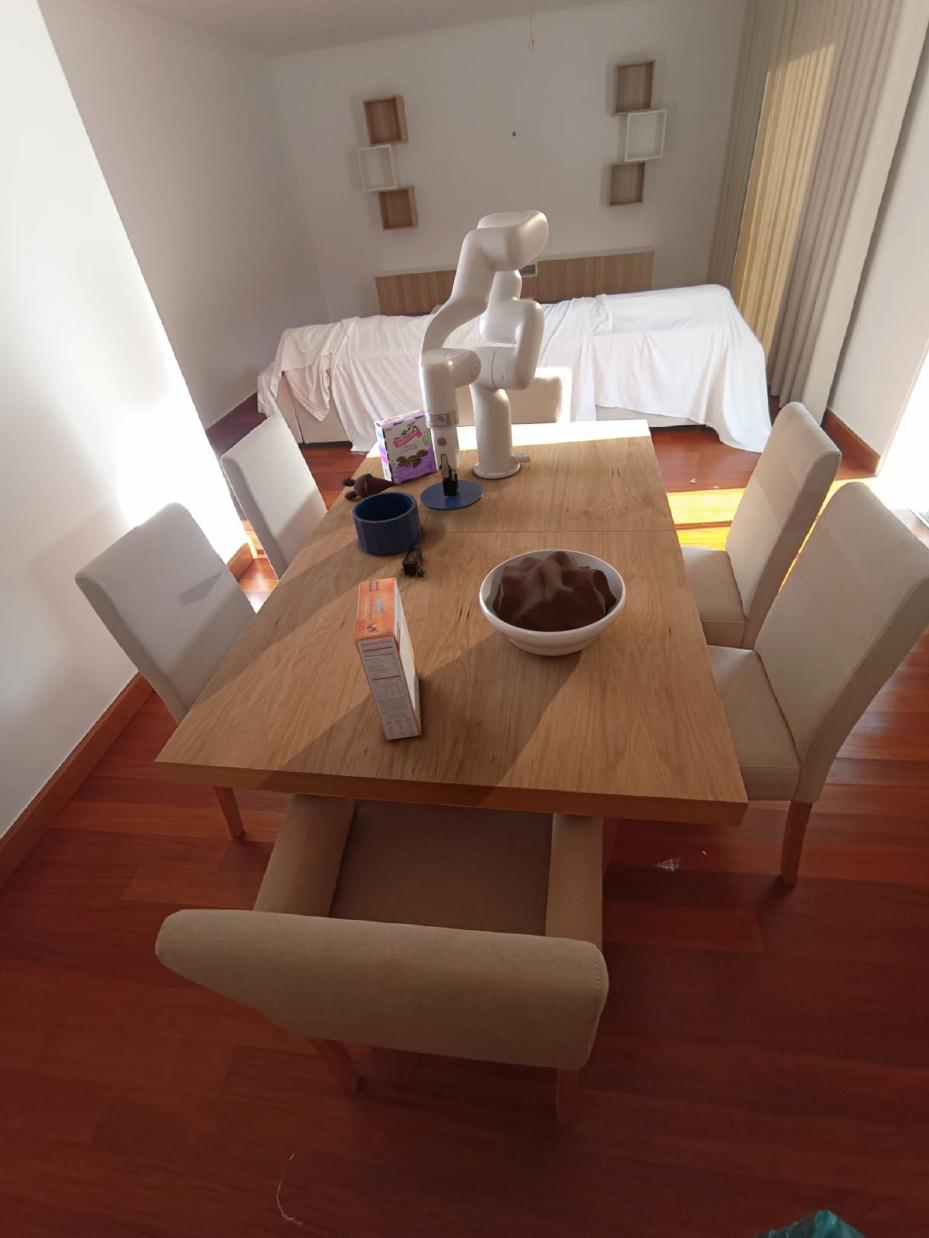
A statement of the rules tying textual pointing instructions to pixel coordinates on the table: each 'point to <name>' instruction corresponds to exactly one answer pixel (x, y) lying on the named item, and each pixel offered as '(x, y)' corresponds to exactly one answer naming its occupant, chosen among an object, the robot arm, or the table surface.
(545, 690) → the table surface
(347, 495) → the icecream
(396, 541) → the pot
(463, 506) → the lid
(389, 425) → the candy box
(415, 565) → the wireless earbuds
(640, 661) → the table surface
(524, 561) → the chocolate pudding bowl
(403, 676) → the cracker box
